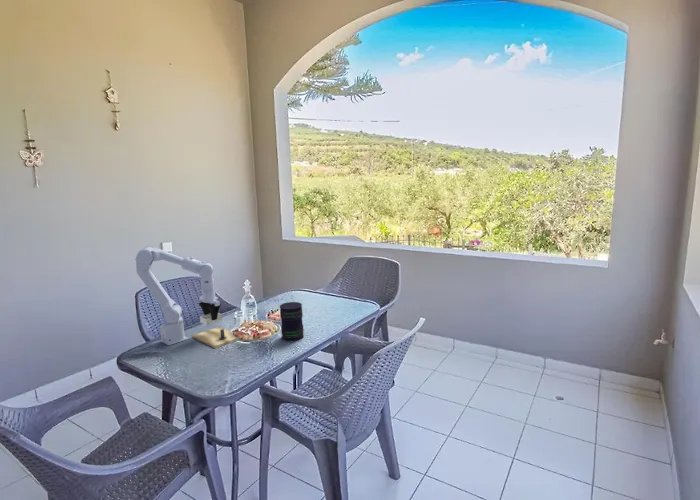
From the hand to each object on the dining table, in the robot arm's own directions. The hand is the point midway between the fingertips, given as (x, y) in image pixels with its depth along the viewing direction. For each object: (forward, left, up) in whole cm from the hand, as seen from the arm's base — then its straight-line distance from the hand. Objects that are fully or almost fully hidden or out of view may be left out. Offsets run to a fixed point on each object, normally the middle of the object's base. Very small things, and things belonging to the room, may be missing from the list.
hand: (211, 318), depth 199 cm
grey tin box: (0, 0, -2) cm, 2 cm away
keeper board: (0, -4, -8) cm, 9 cm away
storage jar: (+22, -31, -9) cm, 39 cm away
